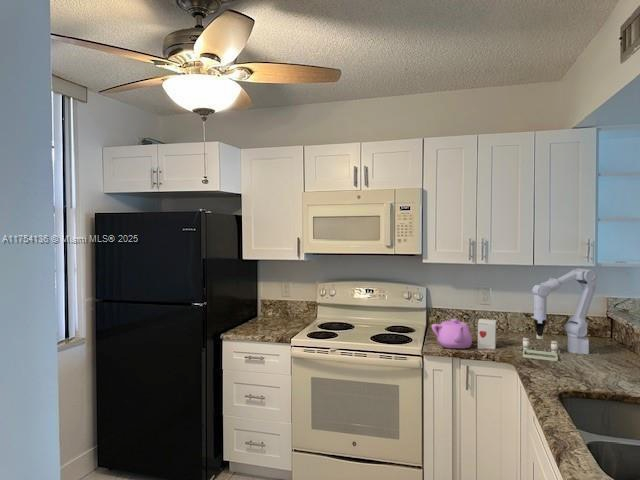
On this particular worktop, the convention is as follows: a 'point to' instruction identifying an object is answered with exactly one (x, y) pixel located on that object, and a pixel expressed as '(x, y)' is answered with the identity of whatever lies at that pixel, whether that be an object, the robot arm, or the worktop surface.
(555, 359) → the tray
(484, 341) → the supplement box
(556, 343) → the cylinder
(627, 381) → the worktop surface
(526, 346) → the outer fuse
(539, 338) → the marked fuse
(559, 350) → the fuse holder
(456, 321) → the teapot
